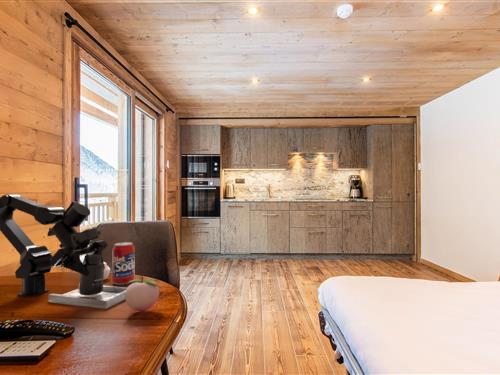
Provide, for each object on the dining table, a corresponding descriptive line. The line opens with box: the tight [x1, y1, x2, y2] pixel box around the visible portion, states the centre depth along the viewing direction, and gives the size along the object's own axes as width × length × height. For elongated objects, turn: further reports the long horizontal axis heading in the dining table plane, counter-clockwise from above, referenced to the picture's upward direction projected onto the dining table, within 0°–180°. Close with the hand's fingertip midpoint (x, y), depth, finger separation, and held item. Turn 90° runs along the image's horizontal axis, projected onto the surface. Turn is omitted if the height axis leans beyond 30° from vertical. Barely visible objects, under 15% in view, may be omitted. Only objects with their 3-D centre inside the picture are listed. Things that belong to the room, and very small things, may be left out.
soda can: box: [111, 242, 136, 286], centre depth 112 cm, size 8×8×15 cm
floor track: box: [48, 283, 128, 310], centre depth 95 cm, size 22×12×2 cm, turn 74°
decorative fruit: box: [125, 276, 160, 313], centre depth 83 cm, size 9×8×10 cm
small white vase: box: [103, 261, 111, 281], centre depth 117 cm, size 6×6×7 cm
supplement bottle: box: [79, 254, 104, 295], centre depth 95 cm, size 7×7×12 cm
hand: (95, 271), depth 95 cm, fingers closed on supplement bottle, 7 cm apart
